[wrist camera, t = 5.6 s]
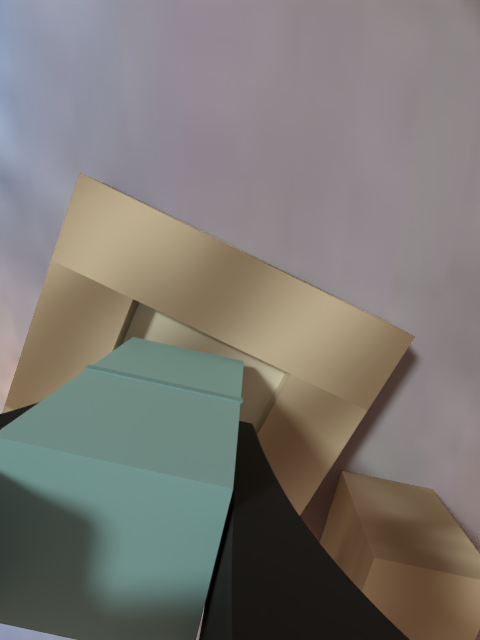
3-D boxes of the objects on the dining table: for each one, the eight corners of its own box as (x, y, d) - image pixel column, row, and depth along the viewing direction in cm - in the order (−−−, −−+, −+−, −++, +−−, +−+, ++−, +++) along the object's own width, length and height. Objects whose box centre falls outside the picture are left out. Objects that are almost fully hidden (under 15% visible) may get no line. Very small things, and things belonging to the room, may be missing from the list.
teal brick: (245, 360, 11) (236, 486, 5) (222, 459, 12) (191, 666, 6) (131, 335, 11) (-12, 432, 5) (117, 436, 12) (-20, 620, 6)
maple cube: (431, 487, 13) (501, 584, 10) (404, 559, 14) (458, 674, 10) (341, 469, 14) (374, 557, 10) (319, 542, 14) (341, 649, 10)
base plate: (392, 324, 12) (415, 337, 10) (255, 545, 15) (254, 586, 13) (107, 184, 11) (79, 172, 10) (19, 439, 14) (-15, 466, 12)
